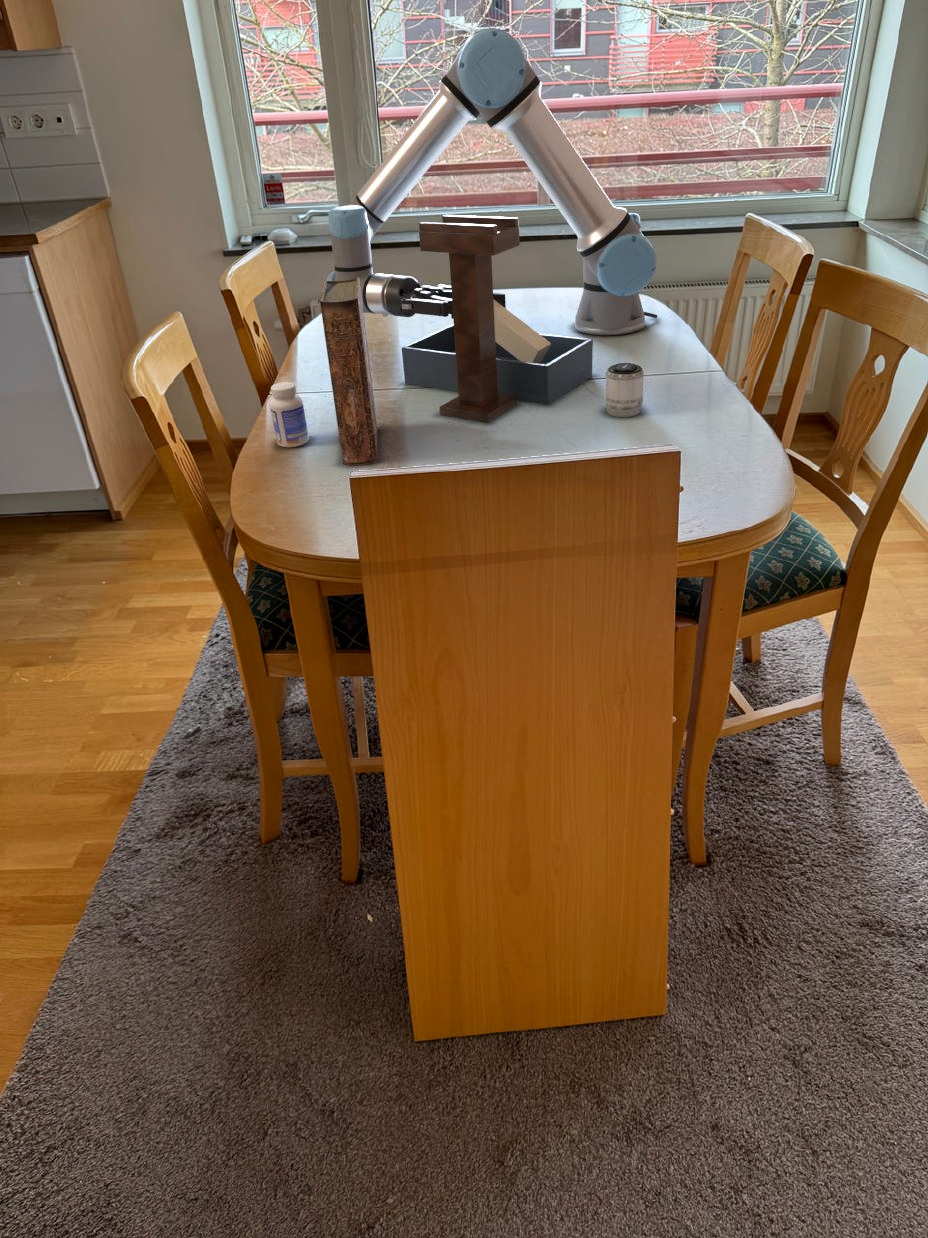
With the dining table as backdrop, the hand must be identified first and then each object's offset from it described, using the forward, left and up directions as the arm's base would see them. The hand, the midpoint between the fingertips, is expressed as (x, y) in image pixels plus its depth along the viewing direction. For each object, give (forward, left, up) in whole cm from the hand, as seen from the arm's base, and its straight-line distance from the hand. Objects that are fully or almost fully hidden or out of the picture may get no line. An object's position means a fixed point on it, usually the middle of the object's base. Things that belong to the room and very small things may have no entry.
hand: (496, 305), depth 167 cm
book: (+22, +31, -14) cm, 41 cm away
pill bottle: (+34, +28, -14) cm, 46 cm away
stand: (+3, +16, -14) cm, 22 cm away
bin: (0, 0, -14) cm, 14 cm away
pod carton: (0, 0, -5) cm, 5 cm away
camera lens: (-22, +20, -14) cm, 33 cm away
